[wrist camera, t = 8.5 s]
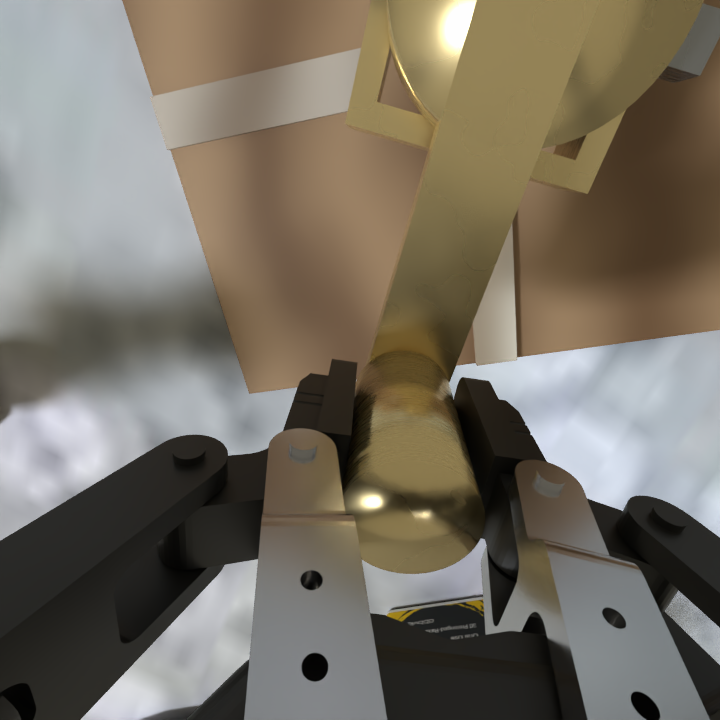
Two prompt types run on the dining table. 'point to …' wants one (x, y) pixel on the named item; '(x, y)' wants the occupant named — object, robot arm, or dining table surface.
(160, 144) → the dining table surface
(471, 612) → the medicine bottle
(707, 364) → the dining table surface
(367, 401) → the gold piece
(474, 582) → the dining table surface
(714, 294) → the post base
